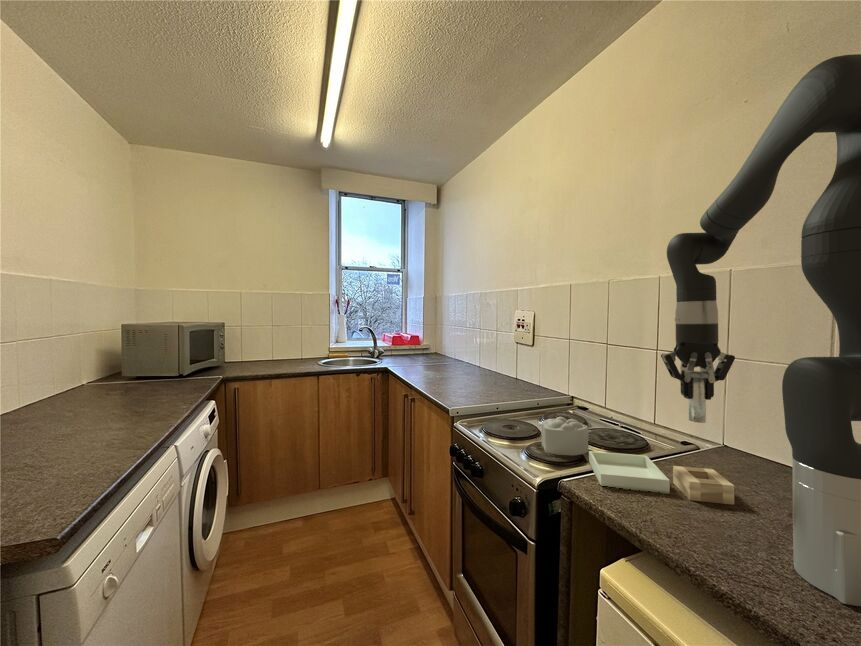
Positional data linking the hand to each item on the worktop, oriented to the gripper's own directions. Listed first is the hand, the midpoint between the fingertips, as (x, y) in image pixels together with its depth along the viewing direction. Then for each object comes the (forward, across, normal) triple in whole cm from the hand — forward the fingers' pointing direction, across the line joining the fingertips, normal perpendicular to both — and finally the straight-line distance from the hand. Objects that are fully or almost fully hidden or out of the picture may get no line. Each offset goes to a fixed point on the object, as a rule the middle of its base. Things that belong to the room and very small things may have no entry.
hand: (697, 398), depth 75 cm
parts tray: (+21, -14, +5) cm, 26 cm away
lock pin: (+5, 0, 0) cm, 5 cm away
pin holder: (+21, 0, 0) cm, 21 cm away
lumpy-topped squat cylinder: (+22, -26, +21) cm, 39 cm away
